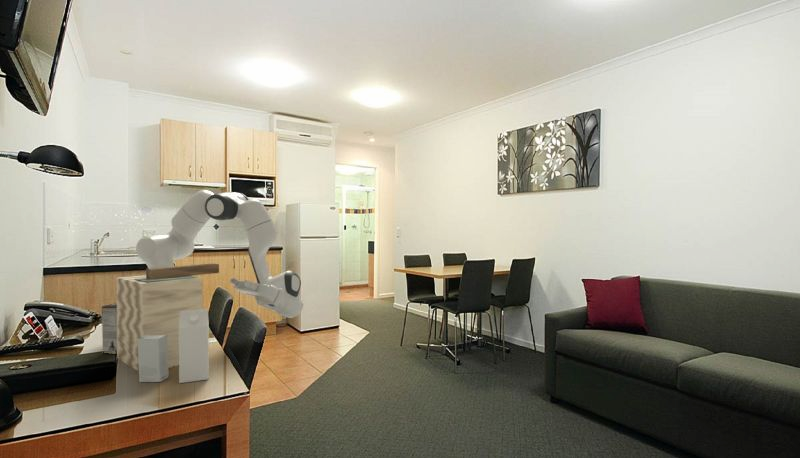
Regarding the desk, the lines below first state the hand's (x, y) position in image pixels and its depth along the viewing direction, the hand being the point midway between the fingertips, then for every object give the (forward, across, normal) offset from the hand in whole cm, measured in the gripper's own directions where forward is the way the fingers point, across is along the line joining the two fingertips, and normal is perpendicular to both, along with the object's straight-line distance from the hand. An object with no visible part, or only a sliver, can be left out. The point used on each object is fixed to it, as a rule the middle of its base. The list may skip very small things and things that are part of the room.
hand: (238, 281), depth 149 cm
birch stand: (+10, -4, +32) cm, 34 cm away
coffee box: (+14, -24, +34) cm, 44 cm away
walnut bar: (+18, 0, +6) cm, 19 cm away
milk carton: (+10, +21, +32) cm, 40 cm away
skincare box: (+17, +14, +36) cm, 43 cm away
